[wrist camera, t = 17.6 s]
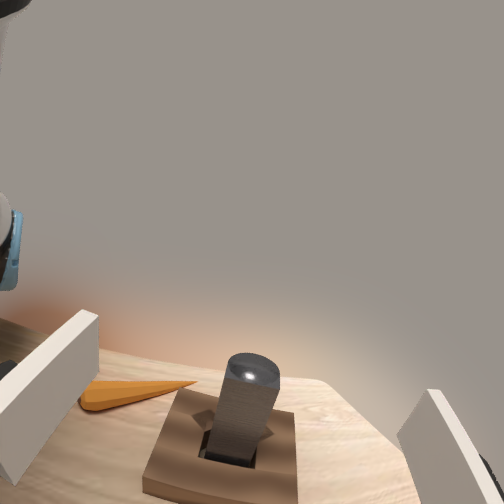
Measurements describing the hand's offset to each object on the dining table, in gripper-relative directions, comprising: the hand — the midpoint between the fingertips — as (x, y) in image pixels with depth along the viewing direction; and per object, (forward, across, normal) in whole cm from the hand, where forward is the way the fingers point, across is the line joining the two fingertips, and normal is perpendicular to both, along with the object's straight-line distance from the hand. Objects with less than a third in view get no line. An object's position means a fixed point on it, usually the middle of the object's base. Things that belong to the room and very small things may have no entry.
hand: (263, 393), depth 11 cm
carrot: (+24, -12, -27) cm, 38 cm away
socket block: (+16, +1, -26) cm, 30 cm away
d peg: (+16, +1, -26) cm, 30 cm away
